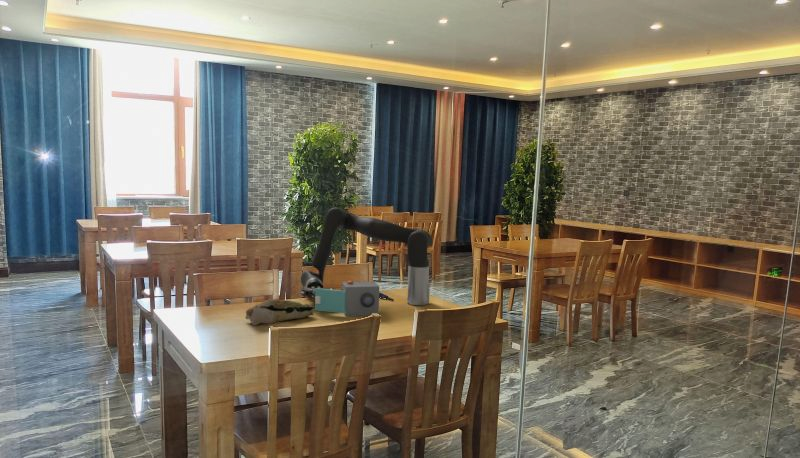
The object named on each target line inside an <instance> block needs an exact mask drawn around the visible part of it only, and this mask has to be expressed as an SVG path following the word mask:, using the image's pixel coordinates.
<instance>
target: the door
mask: <svg viewBox="0 0 800 458" xmlns="http://www.w3.org/2000/svg"><path fill="white" fill-rule="evenodd" d="M345 292H346V291H342V290H339V289H331V288H330V289H328V288H325V289H319V288H315V298H314V311H321V312H331V313H340V314H344V313H345Z"/></svg>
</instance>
